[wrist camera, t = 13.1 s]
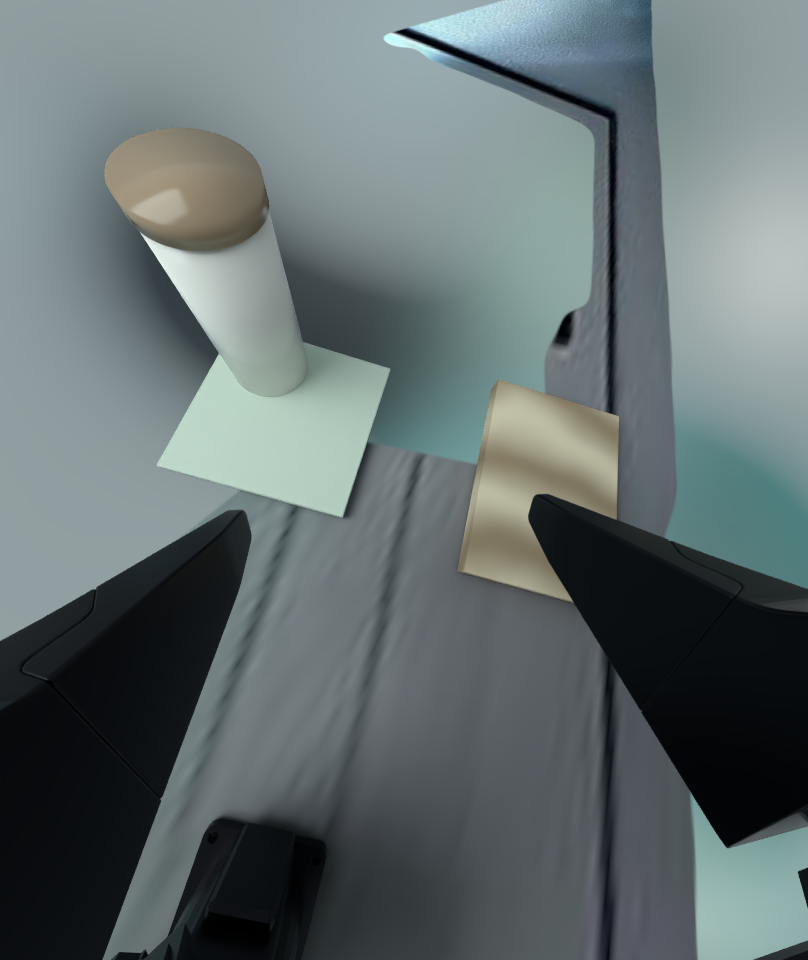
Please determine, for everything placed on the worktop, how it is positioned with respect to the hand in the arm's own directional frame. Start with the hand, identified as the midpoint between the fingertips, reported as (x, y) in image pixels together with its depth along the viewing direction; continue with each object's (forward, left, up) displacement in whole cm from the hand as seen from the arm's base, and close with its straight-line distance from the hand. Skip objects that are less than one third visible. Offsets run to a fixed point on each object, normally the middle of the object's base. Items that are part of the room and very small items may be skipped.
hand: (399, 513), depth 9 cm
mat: (+8, +10, -13) cm, 18 cm away
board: (+8, -11, -13) cm, 19 cm away
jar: (+11, +12, -12) cm, 20 cm away
